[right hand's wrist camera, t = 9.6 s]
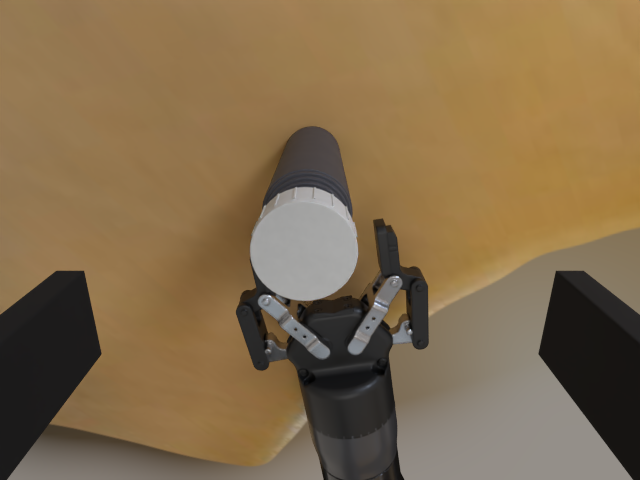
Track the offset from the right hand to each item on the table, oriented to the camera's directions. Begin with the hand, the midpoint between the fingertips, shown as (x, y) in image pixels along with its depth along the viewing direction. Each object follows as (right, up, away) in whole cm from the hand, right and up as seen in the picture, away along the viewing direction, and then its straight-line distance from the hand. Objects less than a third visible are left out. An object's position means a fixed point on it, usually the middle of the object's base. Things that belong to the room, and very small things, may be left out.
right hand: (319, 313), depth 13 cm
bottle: (-1, +9, +24) cm, 25 cm away
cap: (-1, +2, +5) cm, 5 cm away
